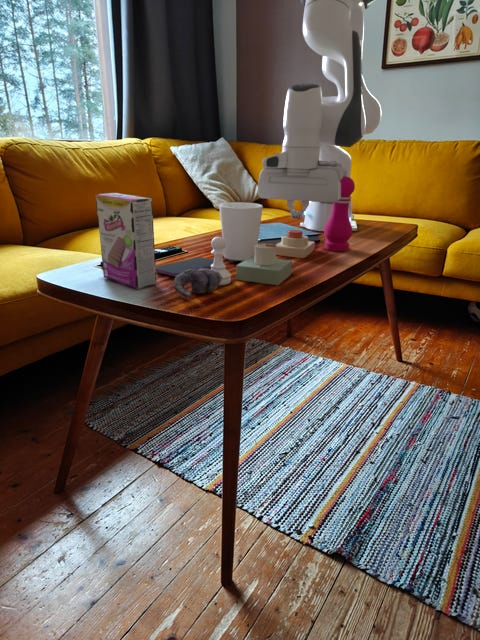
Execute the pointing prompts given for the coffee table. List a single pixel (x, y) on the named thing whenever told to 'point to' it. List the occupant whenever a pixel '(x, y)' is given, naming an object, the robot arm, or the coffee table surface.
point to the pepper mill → (340, 218)
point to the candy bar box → (127, 239)
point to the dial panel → (264, 271)
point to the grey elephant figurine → (197, 281)
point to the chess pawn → (220, 259)
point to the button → (295, 234)
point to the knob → (265, 254)
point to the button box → (295, 247)
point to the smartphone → (184, 266)
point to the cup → (240, 229)
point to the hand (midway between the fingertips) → (297, 219)
